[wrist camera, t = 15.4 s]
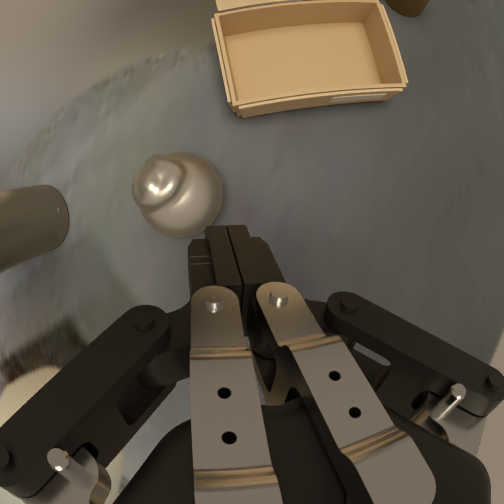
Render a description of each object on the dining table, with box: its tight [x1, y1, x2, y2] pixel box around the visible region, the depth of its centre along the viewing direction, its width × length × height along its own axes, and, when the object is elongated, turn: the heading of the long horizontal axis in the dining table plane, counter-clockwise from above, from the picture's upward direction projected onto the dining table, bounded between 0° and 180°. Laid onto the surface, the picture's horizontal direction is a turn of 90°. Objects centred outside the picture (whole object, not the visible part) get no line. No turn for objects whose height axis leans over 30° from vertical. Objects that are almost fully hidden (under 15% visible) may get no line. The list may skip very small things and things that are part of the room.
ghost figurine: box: [132, 152, 223, 238], centre depth 31 cm, size 9×10×10 cm
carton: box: [211, 0, 408, 118], centre depth 29 cm, size 19×12×6 cm, turn 101°
